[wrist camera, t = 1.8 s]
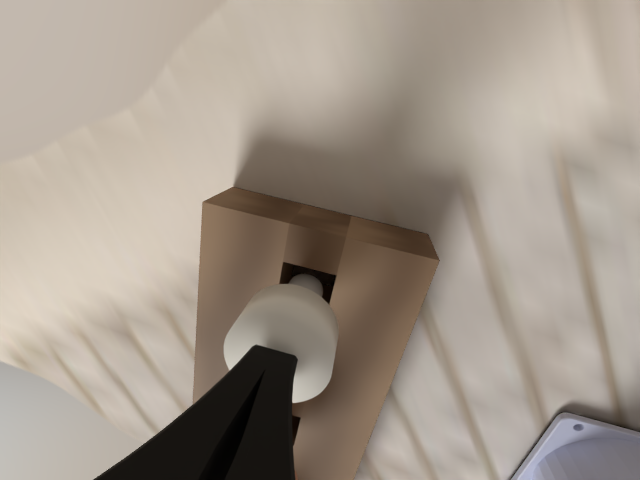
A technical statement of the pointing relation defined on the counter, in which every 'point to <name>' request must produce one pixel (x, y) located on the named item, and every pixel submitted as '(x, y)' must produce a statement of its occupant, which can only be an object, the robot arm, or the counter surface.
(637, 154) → the counter surface
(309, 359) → the knob
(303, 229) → the rack
